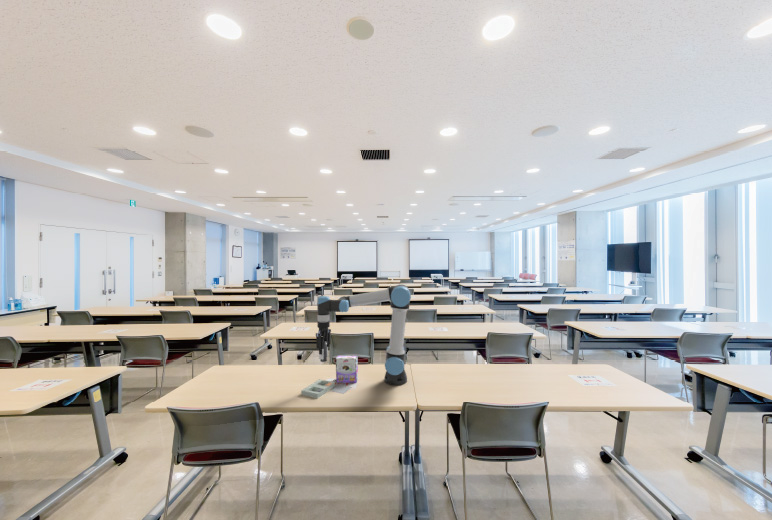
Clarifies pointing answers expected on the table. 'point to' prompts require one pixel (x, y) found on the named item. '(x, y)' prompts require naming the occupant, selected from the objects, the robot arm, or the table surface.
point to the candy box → (347, 369)
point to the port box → (318, 388)
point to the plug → (324, 351)
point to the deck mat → (341, 389)
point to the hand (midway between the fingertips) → (323, 357)
